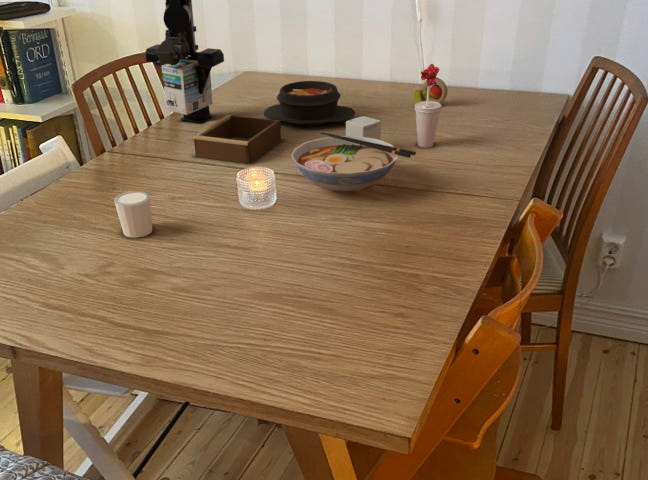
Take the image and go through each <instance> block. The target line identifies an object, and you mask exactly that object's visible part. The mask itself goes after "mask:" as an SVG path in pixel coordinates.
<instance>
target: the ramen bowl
mask: <svg viewBox="0 0 648 480" xmlns="http://www.w3.org/2000/svg"><path fill="white" fill-rule="evenodd" d="M319 134H320V135H323V136H324V135H325V137H320V138H317V139H313V140H310V141H309V140H308V141H305V142H303V143H302V144H300V145H298V146H296V147H294V149H293V151H292V153H291V155H290V156H291V158H292V160H293V163H294V164H295V166H296V167H297V169H298V170H299V171H300V173H301V174H302V176H303V177H304V178H305V179H306V180H307V181H309V182H310V183H312V184H314V185H316V186H318V187H320V188H322V189H326V190H330V191H333V192H336V193H354V192H356V191H359V190H363V189H366V188H368V187H373V186H374V185H376V184H378V183H379V182H380V181H381V180H383V179H384V178H385V177H386V176H387V175H388V174H389V173H390V171H392V169H393V168H394V166H395V164H396V162H397V160H398V157H399V156H400V157H404V158H408V159H410V158H411V157H412V156H416V154H417V153H416V152H417V151H414V150H410V149H405V148H399V147H395V146H394V144H391V143H389V142H386V141H384V140H381V139H380V140H379V139H373V138H367V137H361V136H346V135H337V134H334V133H333V134H332V133H329V132H323V131H322V132H319Z"/></svg>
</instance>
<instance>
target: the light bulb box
mask: <svg viewBox="0 0 648 480" xmlns="http://www.w3.org/2000/svg"><path fill="white" fill-rule="evenodd" d="M198 65H199V64H198V61H195V60H183V59H180V60H179V63H178V64H176V65H171V64H165V65H162V69H161V75H162V82H163V92H164V99H165V107H166V109H165V110H166V111H167V112H171V113H176V114H180V115H183V114H185V115H188V114H190V113H192V112H195V111H197V110H199V109H202V108H204V107H206V106H209V107H210V106H211V105H213V92H212V77H211V72H210V73H209V76H208V79H207V82H206V86H205V89H204V92H203V94H200V93H199V87H198V77H197V72H196V70H195V69H194V67H196V66H198Z"/></svg>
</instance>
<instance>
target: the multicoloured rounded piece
mask: <svg viewBox="0 0 648 480" xmlns="http://www.w3.org/2000/svg"><path fill="white" fill-rule="evenodd" d="M439 72H440V68H439V67H438V66H435V65H434V63H430V64H429V66H428V67H427V68H425V69H423V71H420V74H421V76H420V79H421V80H422V81H424V83H422V86H421V88H420V89H416V90H414V91H413V92H412V96H413V97H414V101H413V102H414V105H415V104H416V103H418V102H422V101H427V88H428V86H430V94H429V101H433V102H438V103H440V104H441V105H442V103H443V102H444V101H445V100H446V98H447V96H448V92H449V91H448V86H447V84H446V82H445V81H444V80H443V79H441V78H440V77H437V75H438V74H439Z"/></svg>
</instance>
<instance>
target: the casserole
mask: <svg viewBox="0 0 648 480" xmlns="http://www.w3.org/2000/svg"><path fill="white" fill-rule="evenodd" d="M341 96H342V95H341V93H340V92H339V91H338V88H337V86H336V84H333V83H331V82H327V81H320V80H302V81H294V82H291V83H287V84H284V85H283V86H281V87H280V89H279V93H278V94H277V96H276V100H277V101H278V102H279V104H273V105H271V106H269V107H267V108H266V109H265V110H264V111H263V113H262V115H263V117H265V119H272V120H280V122H285V123H289V124H292V125H296V126H302V127H312V126H313V127H314V126H319V125H323V124H326V123H339V122H346V121H349V120H351V119H353V117H354V116H356V110H355V109H354V108H353V107H349V106H344V105H338V103H339V100H340V98H341Z"/></svg>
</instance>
